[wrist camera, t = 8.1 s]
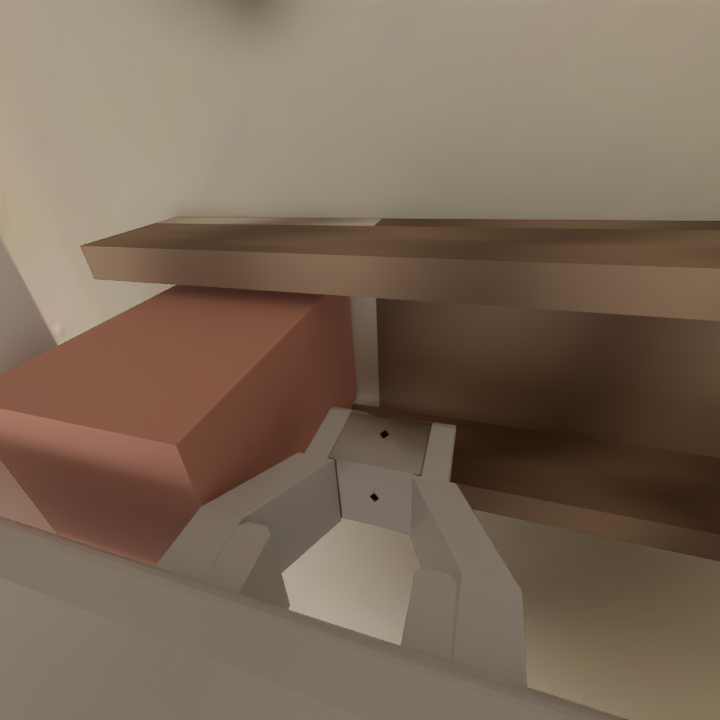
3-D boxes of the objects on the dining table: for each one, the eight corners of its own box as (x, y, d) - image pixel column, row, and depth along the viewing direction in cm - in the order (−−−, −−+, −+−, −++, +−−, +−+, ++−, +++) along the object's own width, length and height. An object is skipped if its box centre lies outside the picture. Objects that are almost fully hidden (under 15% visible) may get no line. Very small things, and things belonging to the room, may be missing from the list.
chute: (1083, 224, 8) (1491, 296, 5) (851, 481, 12) (982, 616, 9) (174, 217, 14) (80, 245, 11) (224, 386, 18) (165, 444, 15)
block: (347, 271, 12) (176, 445, 6) (356, 397, 15) (246, 615, 8) (214, 265, 14) (-46, 398, 7) (244, 381, 16) (74, 556, 10)
